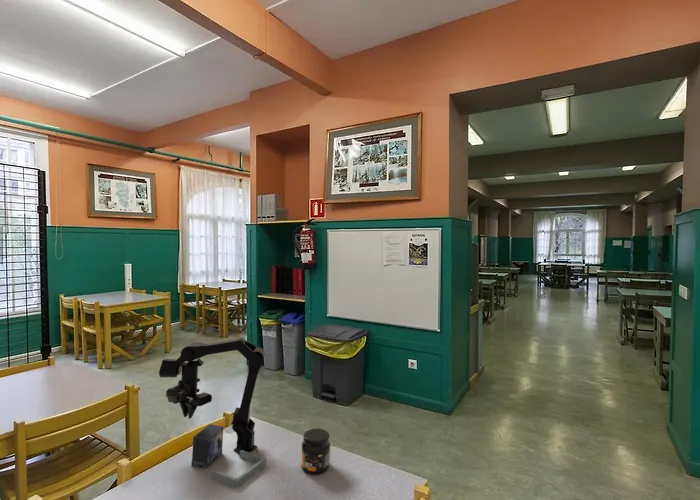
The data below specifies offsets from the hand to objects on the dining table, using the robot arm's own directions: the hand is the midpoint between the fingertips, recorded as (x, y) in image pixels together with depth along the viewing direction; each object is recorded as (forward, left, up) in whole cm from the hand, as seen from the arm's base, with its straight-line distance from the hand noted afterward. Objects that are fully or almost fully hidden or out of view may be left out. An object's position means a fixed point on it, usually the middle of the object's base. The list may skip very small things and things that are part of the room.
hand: (187, 417), depth 138 cm
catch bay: (0, +26, -13) cm, 29 cm away
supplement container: (-15, +49, -13) cm, 52 cm away
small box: (0, +11, -13) cm, 17 cm away
